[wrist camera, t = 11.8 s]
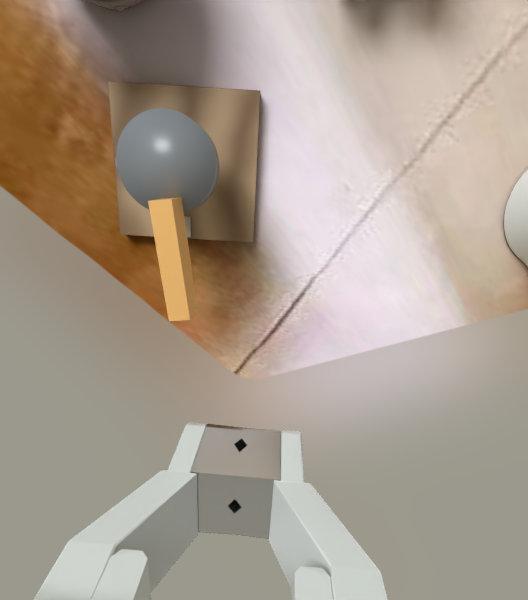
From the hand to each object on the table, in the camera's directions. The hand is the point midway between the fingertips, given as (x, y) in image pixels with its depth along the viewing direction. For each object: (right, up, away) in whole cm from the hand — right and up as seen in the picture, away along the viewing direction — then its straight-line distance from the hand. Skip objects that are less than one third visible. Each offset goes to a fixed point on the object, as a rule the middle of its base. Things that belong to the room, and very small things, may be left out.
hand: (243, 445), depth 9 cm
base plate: (-8, +19, +31) cm, 37 cm away
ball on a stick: (-8, +13, +26) cm, 30 cm away
